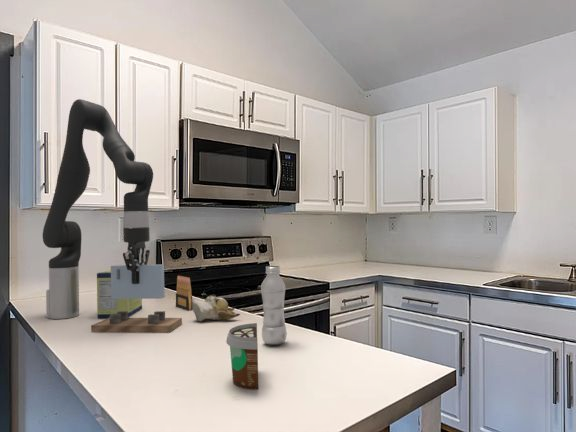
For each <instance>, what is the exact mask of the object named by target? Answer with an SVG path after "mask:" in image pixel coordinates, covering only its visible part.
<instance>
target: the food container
mask: <svg viewBox="0 0 576 432" xmlns="http://www.w3.org/2000/svg"><path fill="white" fill-rule="evenodd" d="M258 342H259V341H258V324H257V322H252V323H244V324H238V325H236V326H234V327H231V328H230V329H229V330H228V333H227V336H226V344H227V346H229V349H230V350H229V352H230V362H231V373H232V383H233V385H235V386H236V387H238V388H239V389H240V388H241V389H244V390H259V357H258V356H259V354H258V353H259V350H258V347H259V346H258V345H259V343H258Z"/></svg>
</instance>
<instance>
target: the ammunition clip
mask: <svg viewBox="0 0 576 432" xmlns="http://www.w3.org/2000/svg"><path fill="white" fill-rule="evenodd" d="M191 284H192V283H191V278H190V277H187V276H183V275H177V278H176V292H175V308H178V309H182V310H185V311H188V312H190V311H193V306H192V299H193V295H192V285H191ZM189 310H190V311H189Z"/></svg>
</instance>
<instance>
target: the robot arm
mask: <svg viewBox="0 0 576 432" xmlns="http://www.w3.org/2000/svg"><path fill="white" fill-rule="evenodd" d="M66 129H67V130H66V135H65V143H64V149H63V153H62V158H61V160H60V166H59V170H58V173H57V174H58V175H57V178H56V186H55V189H54V193H53V198H52V201H51V204H50V208H49V210H48V213H47V217H46V220H45V223H44V226H43V229H42V241H43V245H45V247H47V248H48V249H59V248H60V252H59V253H57V255H56V256H54V257H52V258H50V259H49V261H48V289H47V290H46V292H45V295H46V301H45V302H46V306H45V308H46V311H45V312H46V318H47V319H52V320H59V319H60V320H63V319H64V320H65V319H70V318H74V317H78V316H80V273H79V272H80V269H79V267H80V266H79V265H80V264H79V263H80V260H81V256H82V229H81V227H80V225H79V224H78V223H77V222H76V221H73V220H70V221H69V220H66V219H67V216H68V214H69V212H70V209H71V208H72V206H74V204H75V203H76V202H77V201H78V200H79V198H80V197H81V196H82V195H83V194H84V192H85V191H86V189H87V187H88V182H89V177H90V174H91V166H90V163H89V160H88V158H87V154H86V152H85V149H84V144H83V142H84V139H83V138H84V131H85V130H87V131H92V132H97V133H99V135H100V136H102V137H103V139H102V149H103V151H104V153H105V154H106V156H107V158H108V159H109V160H110V161H111V162H112V164H113V165H112V166H113V167H114V168H113V169H114V171H115V175H116V177H117V179H118V180H119V181H120V182H122V183H124V184H127V185H135V188H134V190H133V191H130V192H126V193H124V195H123V217H122V222H123V223H122V224H123V226H122V227H123V229H122V232H123V233H122V235H123V237H122V238H123V242H124V243H127V251H126V252H122V258H123V260H124V265H126V267H127V270H130V271H131V272H132V284H139V282H140V281H139V265H148V262H149V257H150V253H151V252H150V251H151V250H150V249H147V247H146V242H147V243H149V242H150V239H151V238H150V215H149V196H150V192H151V189H152V184H153V180H154V172H153V171H154V170H153V168H152V166H151V164H149V163H147V162H144V161H143V162H141V161H136V156H135V154H134V150H132V148H131V147H130V146H129V145H128V144H127V142H126V141H125V140H124V138H123V137H122V136H121V134H120V133H119V130H118V128H117V127H116V125H115V123H114V120H113V119H112V116H111V115H110V113H109V112H108V110H107V109H106V107H104V106H102V105H100V104H99V103H95V102H91V101H88V100H85V99H80V98H78V99H76V100H74V101H73V102H72V105H71V107H70V109H69V113H68V119H67V127H66Z"/></svg>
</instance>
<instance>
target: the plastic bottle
mask: <svg viewBox="0 0 576 432" xmlns="http://www.w3.org/2000/svg"><path fill="white" fill-rule="evenodd" d="M280 274H281V266H280V265H268V266H267V265H266V266H265V275H266V277H264V279H263V281H262V283H261V285H260V292H261V299H262V307H263V309H262V310H263V319H262V320H263V321H262V328H261V338H262V342H263V343H264V344H266V345H271V346H273V345H274V346H276V345H282V344H284V343H285V341H286V340H287V334H288V333H287V327H286V320H285V296H286V284H285V282H284V280H283V279H282V277H281V276H280Z"/></svg>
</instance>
